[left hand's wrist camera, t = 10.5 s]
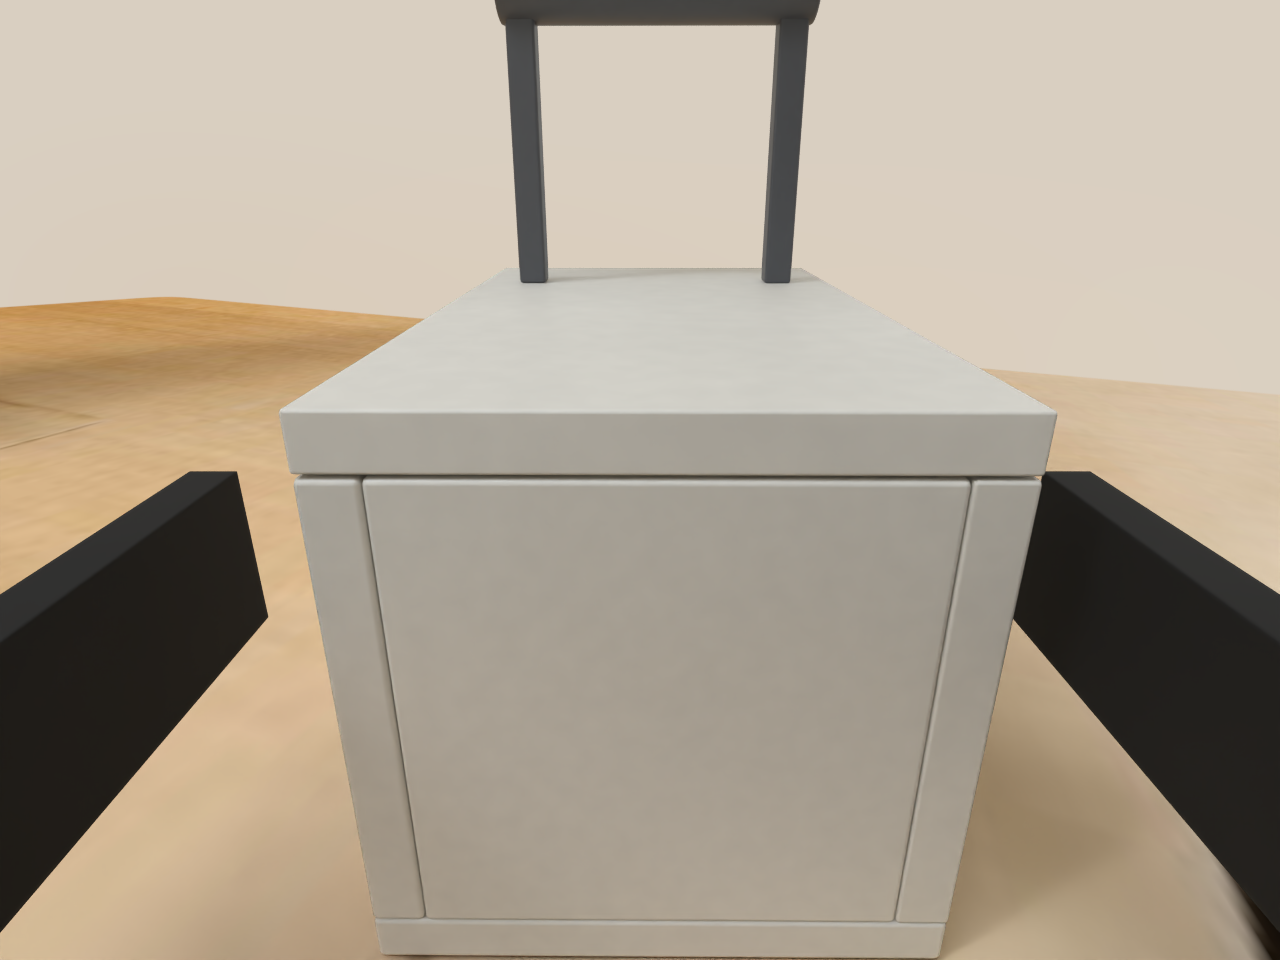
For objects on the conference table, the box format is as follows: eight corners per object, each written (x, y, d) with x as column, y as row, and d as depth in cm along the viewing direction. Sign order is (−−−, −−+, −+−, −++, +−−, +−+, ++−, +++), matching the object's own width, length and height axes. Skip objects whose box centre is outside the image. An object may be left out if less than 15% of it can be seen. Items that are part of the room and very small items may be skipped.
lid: (506, 295, 24) (485, -29, 21) (800, 295, 24) (825, -29, 21) (288, 476, 9) (99, -536, 6) (1045, 478, 9) (1266, -544, 6)
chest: (518, 550, 26) (502, 301, 23) (785, 551, 26) (805, 301, 23) (378, 957, 13) (288, 479, 9) (940, 961, 13) (1044, 481, 9)
